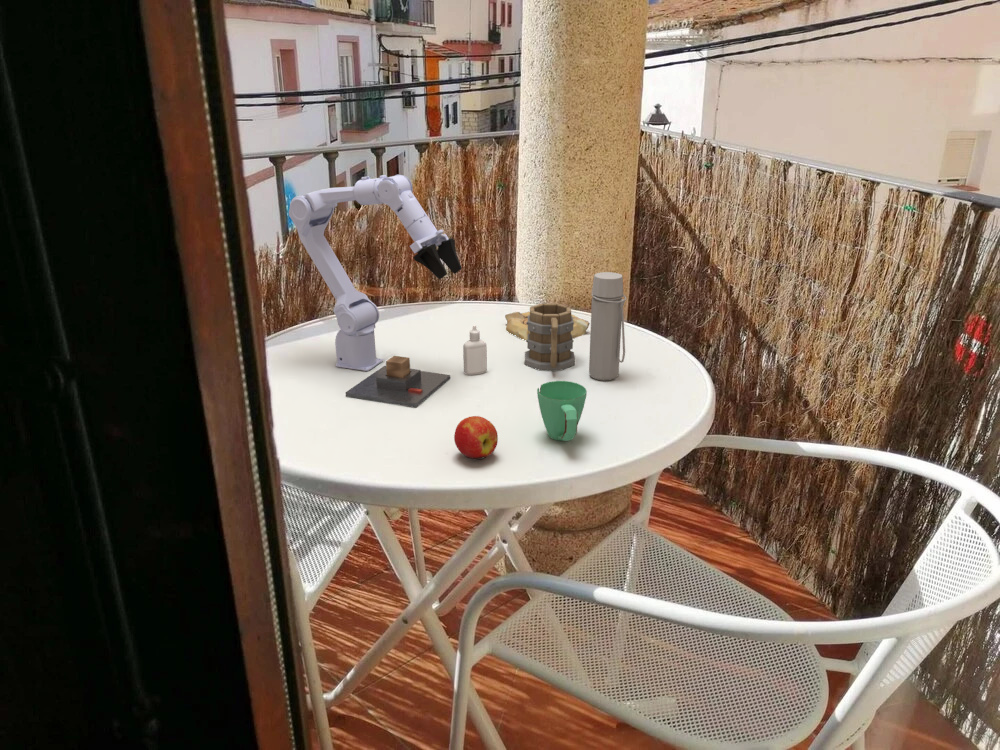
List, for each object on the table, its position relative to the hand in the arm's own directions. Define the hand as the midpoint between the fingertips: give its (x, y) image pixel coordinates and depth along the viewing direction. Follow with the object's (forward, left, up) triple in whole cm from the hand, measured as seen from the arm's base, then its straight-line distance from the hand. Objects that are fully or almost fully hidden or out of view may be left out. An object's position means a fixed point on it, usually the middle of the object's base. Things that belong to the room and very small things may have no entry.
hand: (451, 274), depth 171 cm
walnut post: (-11, -7, -25) cm, 28 cm away
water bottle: (+33, +16, -27) cm, 45 cm away
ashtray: (+8, +46, -27) cm, 54 cm away
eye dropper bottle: (+2, +8, -27) cm, 28 cm away
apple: (+19, -32, -27) cm, 46 cm away
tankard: (+18, +18, -27) cm, 37 cm away
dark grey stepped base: (-11, -7, -27) cm, 30 cm away
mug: (+33, -20, -27) cm, 47 cm away
